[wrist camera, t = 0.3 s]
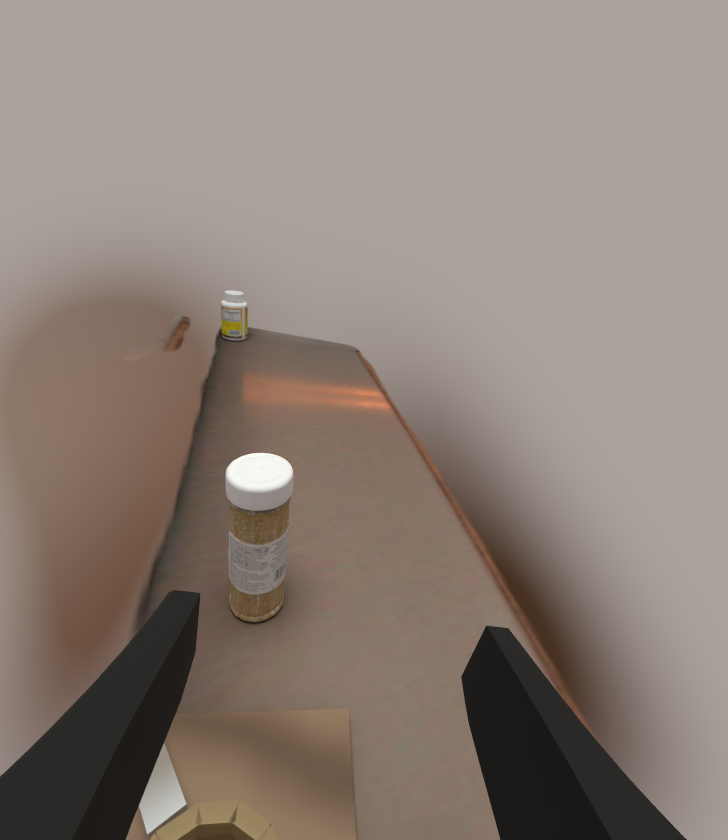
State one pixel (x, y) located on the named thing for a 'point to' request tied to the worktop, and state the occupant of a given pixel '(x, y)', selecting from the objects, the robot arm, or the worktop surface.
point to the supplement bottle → (234, 316)
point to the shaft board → (251, 778)
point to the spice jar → (258, 533)
